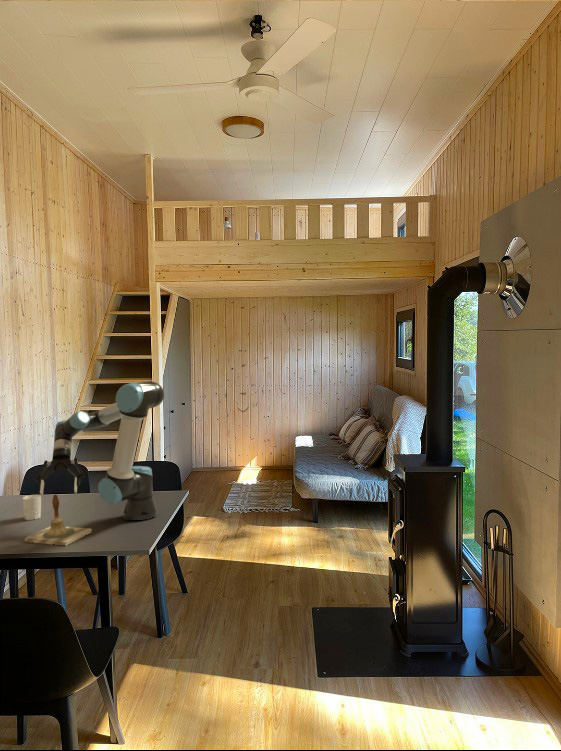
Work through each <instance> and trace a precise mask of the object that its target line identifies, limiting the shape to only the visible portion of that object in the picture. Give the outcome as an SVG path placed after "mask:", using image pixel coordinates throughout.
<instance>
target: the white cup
mask: <svg viewBox="0 0 561 751" xmlns="http://www.w3.org/2000/svg"><path fill="white" fill-rule="evenodd" d="M22 508H23V515H24V520H25V519H26V520H25V521H35V520H39V519H41V517H42V514H41V513H42V512H41V511H42V496H41V495H40V494H30V495H26V496H25V495H24V496H23V497H22ZM38 518H39V519H38ZM34 519H35V520H34Z"/></svg>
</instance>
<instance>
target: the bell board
mask: <svg viewBox="0 0 561 751" xmlns="http://www.w3.org/2000/svg"><path fill="white" fill-rule="evenodd" d="M65 527H66V528H67V529H68V533H66V534H64V535H60V536H48V535H47V533H48V531H49V530H50V528H51V525H50V526H47V527H46V528H43V529H42V530H39V531H37V532H35V533H33V534H30V535H28V536H27V537H25V538H24V542H25V543H32V542H33V544H34V543H35V544H42V545H43V544H45V545H53V544H55V546H63V545H65V547H66V546H68V544H69V545H70V543H71V544H73V543H74V542H76V541H78V540H80V539H82V538H83V537H86V536H88V535H89V534H91V533H92V532H93V530H92V528H87V527H75V526H65ZM85 535H86V536H85ZM72 542H73V543H72Z"/></svg>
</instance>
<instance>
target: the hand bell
mask: <svg viewBox="0 0 561 751" xmlns="http://www.w3.org/2000/svg"><path fill="white" fill-rule="evenodd" d="M51 503H52V508H53V513H54V514H53V515H54V519H52V520H51V521H50V522H51V523H50V526H51V528H50V530H49V531H48V533H47V535H48V536H60V535H64V534H66V533H68V529H67V528H66V527H67V526H65V523H64V521H63V518H60V514H59V507H60V499H59V498H58V494H54V495H53V498H52V502H51Z"/></svg>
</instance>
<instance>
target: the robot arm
mask: <svg viewBox="0 0 561 751" xmlns="http://www.w3.org/2000/svg"><path fill="white" fill-rule="evenodd" d="M164 398H165V391H164V389H163V387H162V386H161V385H160V383H158V382H156V381H150V380H149V381H142V382H129V383H127V384H123V385H122V386H121V387H120V388H118V391H117V392H116V395H115V403H114V402H113V403H112V404H110V405H108V406H105V407H102V408H101V409H98V410H96V411H93V412H85V411H83V410H82V411H81V410H78V411H76V412H74V413H73V414H72V415H70V416H69V418H67V419H66V420H65V419H63V420H61V421H58V422H57V423H56V424H55V428H54V439H53V440H54V441H53V449H52V450H53V451H52V460H51V461H48V460H44V462H43V465H42V466H41V467H40V469H39V471H38V472H37V473H36V475H35V476H34V481H35V482H36V483H38V484H37V487H38V489H40V490H39V495H41V497H43V496H44V489H45V481H46V479H48V478H49V476H51V475H52V474H53V473H54V472H56V471H57V472H58V471H65V470H67V471H68V472H69V473H70V474H71V475H72V476H73V477H74V483H73V484H74V487H73V491H74V494H77V493H78V487H79V486H80V485H81V480H82V479H84V478H85V477H86V476H85V473H84V471H83V469H82V467H81V466H80V464H79V462H78V458H77V457H76V458H74V459H71V458H72V457H71V455H72V454H71V452H72V442H73V438H74V436H76V435H77V434H79V432H82V431H88V430H92V429H98V428H104V427H107V426H108V425H110V424H111V423H112V422H115V421H118V420H120V424H119V427H118V429H119V430H118V433H117V438H116V443H115V448H114V452H113V459H112V463H111V466H110V467H109V468H107V470H106V475H105V477H104V478H102V479H101V480H100V481H99V483H98V485H97V487H98V488H97V489H98V490H97V491H98V494H99V497H100V498H101V499H102V500H103V502H104V503H107V504H109V505H114V504H120V503H121V502H123V501H125V500H126V504H125V507H124V510H123V519H124V518H125V519H127V520H126V521H128V520H143V519H148V518H151V517H154V516H156V515H157V514H158V508H157V506H156V505H157V504H156V502H155V500H154V491H153V490H154V487H153V486H154V485H153V477H154V476H153V470H152V468H151V467H149V466H142V465H134V461H135V456H136V451H137V445H138V441H139V437H140V434H141V426H142V421H143V419H145V418H147V416H148V412H149V410H150V409H154V408H156V407H158V406H159V405H161V404H162V403H163V401H164ZM71 464H73V465H74V467H75V468H76V470H77V471H78V472H77V471H76V470H75V469H74V468H73V467H72V466H71ZM133 465H134V466H133ZM48 467H49V468H48ZM157 516H158V515H157ZM157 516H156V517H157ZM154 518H155V517H154ZM125 519H124V520H125ZM148 520H149V519H148ZM143 521H144V520H143Z"/></svg>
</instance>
